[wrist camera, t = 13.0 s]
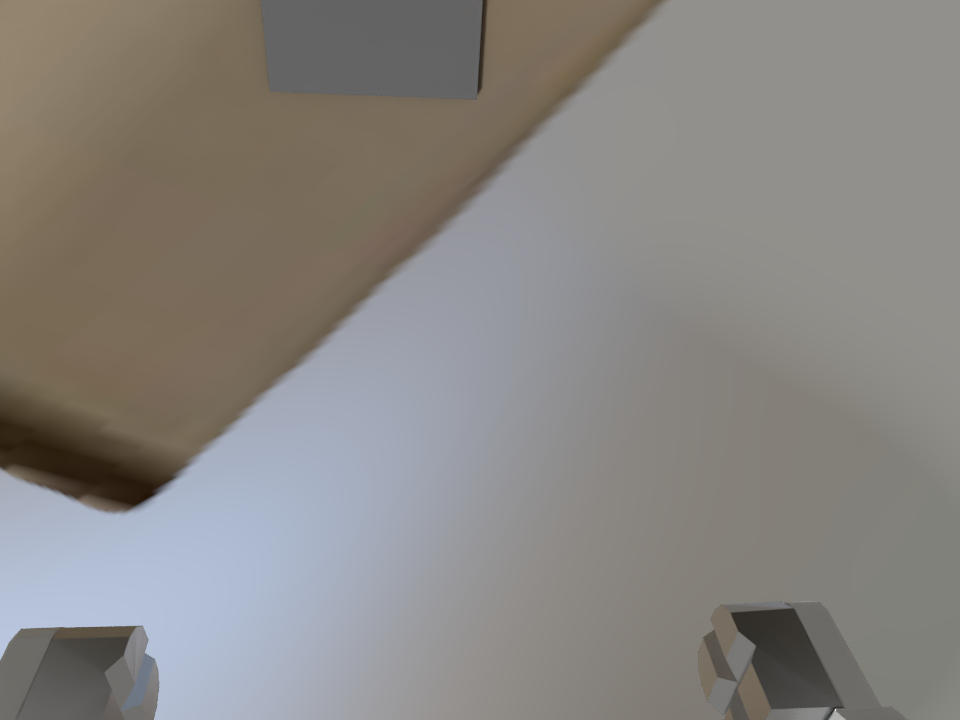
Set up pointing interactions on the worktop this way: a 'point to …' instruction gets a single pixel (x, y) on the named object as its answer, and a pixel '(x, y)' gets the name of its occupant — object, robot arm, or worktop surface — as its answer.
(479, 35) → the mat
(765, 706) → the robot arm
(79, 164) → the worktop surface
